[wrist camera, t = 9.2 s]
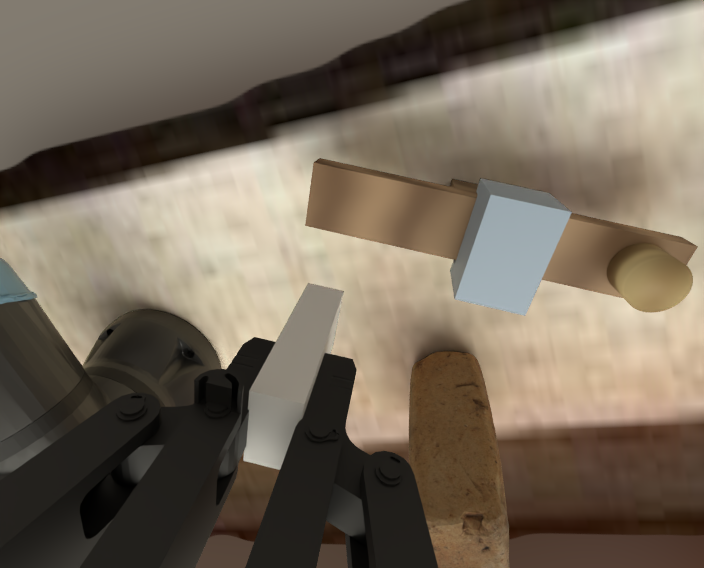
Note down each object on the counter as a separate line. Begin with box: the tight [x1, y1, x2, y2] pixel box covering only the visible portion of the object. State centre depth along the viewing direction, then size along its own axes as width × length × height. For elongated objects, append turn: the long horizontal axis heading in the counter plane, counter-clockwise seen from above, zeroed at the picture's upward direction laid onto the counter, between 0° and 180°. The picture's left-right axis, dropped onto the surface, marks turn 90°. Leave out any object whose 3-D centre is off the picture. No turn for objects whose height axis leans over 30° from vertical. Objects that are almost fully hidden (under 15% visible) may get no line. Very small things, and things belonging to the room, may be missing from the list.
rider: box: [450, 178, 572, 316], centre depth 29 cm, size 5×8×5 cm, turn 170°
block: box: [409, 351, 509, 568], centre depth 37 cm, size 11×8×20 cm
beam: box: [305, 158, 698, 312], centre depth 32 cm, size 28×5×10 cm, turn 80°
